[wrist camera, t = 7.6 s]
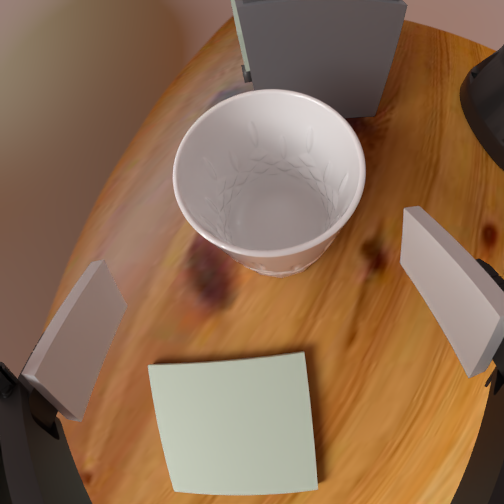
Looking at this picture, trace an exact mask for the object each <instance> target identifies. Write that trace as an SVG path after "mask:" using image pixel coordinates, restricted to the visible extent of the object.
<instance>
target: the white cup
mask: <svg viewBox="0 0 504 504" xmlns="http://www.w3.org/2000/svg"><path fill="white" fill-rule="evenodd" d="M365 178H366V164H365V157H364V153H363V149H362V146H361V144H360V141H359V139H358V137H357V135H356V133H355V132H354V130H353V129H352V127H351V126H350V125H349V123H348V122H347V121H346V120H345V119H344V118H343V117H342V116H341V115H340V114H339V113H338V112H337V111H336V110H334V109H333V108H332V107H330V106H329V105H327V104H326V103H324V102H322V101H320V100H318V99H316V98H314V97H312V96H309V95H306V94H303V93H299V92H295V91H290V90H282V89H263V90H255V91H250V92H245V93H242V94H238V95H235V96H233V97H230V98H228V99H226V100H224V101H222V102H220V103H218V104H217V105H215V106H213V107H212V108H210V109H209V110H208V111H206V112H205V113H204V114H203V115H202V116H201V117H200V118H199V119H198V120H197V121H196V122H195V123H194V124H193V125H192V126H191V127H190V129H189V130H188V132H187V133H186V135H185V136H184V138H183V140H182V142H181V144H180V146H179V148H178V151H177V154H176V157H175V161H174V167H173V186H174V192H175V196H176V199H177V202H178V205H179V207H180V209H181V211H182V213H183V215H184V216H185V218H186V219H187V221H188V222H189V223H190V224H191V226H192V227H193V228H194V229H195V230H196V231H197V232H198V233H199V234H201V235H202V236H203V237H204V238H206V239H207V240H208V241H210V242H211V243H213V244H214V245H215V246H217V247H218V248H219V249H221V250H222V251H223V252H225V253H226V254H228V255H229V256H230V257H232V258H233V259H234V260H236V261H237V262H239V263H240V264H242V265H244V266H245V267H247V268H249V269H251V270H254V271H256V272H257V273H259V274H260V275H266V276H273V277H279V278H284V277H287V276H291V275H294V274H297V273H300V272H304V271H305V270H306V269H307V268H308V267H309V266H310V265H311V264H312V263H314V262H315V261H316V260H318V259H319V258H320V257H321V255H322V254H323V253H324V252H325V251H326V250H327V248H328V247H329V246H330V245H331V244H332V242H333V241H334V240H335V238H336V237H337V235H338V234H339V232H340V231H341V230H342V228H343V227H344V225H345V224H346V222H347V221H348V220H349V218H350V217H351V215H352V214H353V212H354V211H355V209H356V207H357V205H358V203H359V201H360V199H361V196H362V193H363V190H364V185H365Z"/></svg>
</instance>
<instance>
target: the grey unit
mask: <svg viewBox="0 0 504 504" xmlns="http://www.w3.org/2000/svg"><path fill="white" fill-rule="evenodd" d="M231 5H232V10H233V15H234V19H235V25H236V30H237V35H238V39H239V43H240V47H241V52H242V56H243V61H244V65H241V66H242V71H243V76H244V80H245V83H246V82H252V83H253V88H254V91H255V90H263V89H282V90H290V91H295V92H299V93H303V94H306V95H309V96H312V97H314V98H316V99H318V100H320V101H322V102H324V103H326V104H327V105H329V106H330V107H332V108H333V109H334V110H336V111H337V112H338V113H339V114H340V115H341V116H342V117H343V118H354V117H371V116H375V114H376V111H377V108H378V105H379V102H380V99H381V96H382V93H383V90H384V87H385V84H386V81H387V77H388V74H389V71H390V68H391V64H392V61H393V57H394V54H395V50H396V47H397V43H398V40H399V36H400V32H401V29H402V25H403V21H404V17H405V13H406V9H407V4H406V3H405V2H404V1H403V0H231Z"/></svg>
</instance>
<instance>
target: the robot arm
mask: <svg viewBox="0 0 504 504" xmlns="http://www.w3.org/2000/svg"><path fill="white" fill-rule="evenodd" d="M460 101H461V105H462V109H463V112H464V114H465V117H466V119H467V121H468V123H469V125H470V127H471V129H472V130H473V132H474V134H475V135H476V137H477V139H478V140H479V142H480V143H481V145H482V146H483V147H484V149H485V150H486V151H487V153H488V154H489V155H490V156H491V158H492V159H493V160H494V161H495V162H496V163H497V164H498V166H499V167H500V168H501V169H502V170H503V171H504V45H503V46H502V47H501V48H500V49H499V50H498V51H496V52H495V53H493V54H492V55H491V56H489V57H488V58H486V59H485V60H483V61H482V62H481V63H479V64H478V65H476V66H475V67H473V68H472V69H471V70H470V71H469V73H468V74H467V76H466V78H465V80H464V81H463V83H462V85H461V88H460ZM400 264H401V265H402V267H403V268H404V270H405V271H406V273H407V274H408V276H409V277H410V279H411V280H412V282H413V283H414V285H415V286H416V288H417V289H418V291H419V292H420V294H421V296H422V297H423V299H424V300H425V302H426V303H427V305H428V307H429V308H430V310H431V312H432V313H433V315H434V316H435V318H436V320H437V321H438V323H439V325H440V327H441V328H442V330H443V332H444V333H445V335H446V337H447V339H448V340H449V342H450V344H451V346H452V348H453V349H454V351H455V353H456V355H457V357H458V359H459V361H460V363H461V364H462V366H463V368H464V370H465V372H466V374H467V376H468V378H471V377H473V376H475V375H477V374H480V373H482V372H484V371H486V369H487V368H488V366H489V364H490V362H491V361H492V359H493V361H494V363H495V364H496V367H495V369H494V371H493V372H492V374H491V375H490V377H489V378H488V380H487V381H486V384H485V387H487V386H488V385H489V383H490V382H491V386H490V391H489V395H488V400H487V404H486V408H485V412H484V416H483V419H482V423H481V427H480V430H479V433H478V436H477V440H476V443H475V446H474V448H473V451H472V454H471V457H470V460H469V462H468V465H467V467H466V470H465V472H464V475H463V477H462V480H461V482H460V484H459V487H458V489H457V491H456V493H455V495H454V497H453V499H452V502H451V504H504V280H503V279H502V277H501V276H499V274H498V273H497V272H496V271H495V270H494V269H493V268H492V267H491V266H490V265H489V264H487V263H486V262H484V261H482V260H481V259H476V260H475V259H474V258H473V257H472V256H471V255H470V254H469V253H468V252H467V251H466V250H465V249H464V248H463V247H462V246H461V245H460V244H459V243H458V242H457V241H456V240H455V239H454V238H453V237H452V236H451V235H450V234H449V233H448V232H447V231H446V230H445V229H444V228H443V227H442V226H441V225H440V224H439V223H437V222H436V221H435V220H434V219H433V218H432V217H431V216H430V215H429V214H428V213H426V212H425V211H424V210H423V209H422V208H421V207H420V206H414V207H407V208H404V215H403V233H402V246H401V257H400ZM126 308H127V304H126V302H125V300H124V298H123V296H122V294H121V292H120V291H119V289H118V287H117V285H116V283H115V281H114V279H113V277H112V275H111V273H110V271H109V269H108V267H107V265H106V263H105V260H99V261H94V262H91V263H90V265H89V266H88V268H87V269H86V270H85V272H84V273H83V274H82V276H81V277H80V279H79V280H78V282H77V283H76V284H75V286H74V287H73V289H72V290H71V292H70V293H69V295H68V296H67V298H66V299H65V301H64V302H63V304H62V305H61V307H60V308H59V310H58V311H57V313H56V315H55V316H54V318H53V319H52V321H51V323H50V324H49V326H48V327H47V329H46V331H45V332H44V333H43V334H42V336H41V337H40V339H39V341H38V344H37V345H36V346H35V348H34V349H33V352H32V353H31V355H30V357H29V358H28V360H27V362H26V364H25V366H24V368H23V370H22V372H21V373H20V375H19V377H18V379H17V378H16V377H15V376H14V375H13V373H12V372H11V371H10V370H9V369H8V368H7V367H6V366H5V364H4V363H2V362H0V504H92V502H91V500H90V498H89V496H88V494H87V491H86V489H85V487H84V485H83V482H82V480H81V478H80V475H79V473H78V470H77V468H76V465H75V463H74V460H73V457H72V455H71V452H70V449H69V446H68V443H67V440H66V437H65V434H64V431H63V427H62V424H61V422H60V420H59V419H58V418H57V417H56V414H57V412H58V411H59V412H60V413H61V414H62V415H63V416H64V417H66V418H67V419H69V420H74V421H80V422H82V419H83V416H84V413H85V410H86V407H87V404H88V401H89V399H90V396H91V393H92V390H93V388H94V385H95V382H96V380H97V377H98V375H99V372H100V369H101V367H102V364H103V362H104V359H105V357H106V354H107V352H108V350H109V347H110V345H111V342H112V340H113V338H114V335H115V333H116V331H117V328H118V326H119V324H120V322H121V319H122V317H123V315H124V313H125V310H126Z"/></svg>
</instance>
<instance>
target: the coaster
mask: <svg viewBox="0 0 504 504" xmlns="http://www.w3.org/2000/svg"><path fill="white" fill-rule="evenodd" d="M148 370H149V377H150V384H151V390H152V396H153V402H154V407H155V412H156V418H157V423H158V428H159V432H160V437H161V442H162V446H163V450H164V455H165V459H166V463H167V467H168V471H169V474H170V478H171V482H172V485H173V489H174V491H176V492H185V493H196V494H212V495H266V494H282V493H293V492H302V491H311V490H318V482H317V469H316V457H315V445H314V435H313V424H312V414H311V405H310V396H309V387H308V378H307V370H306V361H305V353H304V351H300V352H293V353H286V354H279V355H271V356H262V357H254V358H244V359H233V360H221V361H208V362H191V363H167V364H150V365H148Z"/></svg>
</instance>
